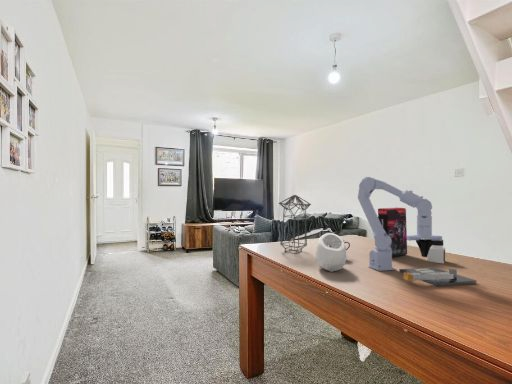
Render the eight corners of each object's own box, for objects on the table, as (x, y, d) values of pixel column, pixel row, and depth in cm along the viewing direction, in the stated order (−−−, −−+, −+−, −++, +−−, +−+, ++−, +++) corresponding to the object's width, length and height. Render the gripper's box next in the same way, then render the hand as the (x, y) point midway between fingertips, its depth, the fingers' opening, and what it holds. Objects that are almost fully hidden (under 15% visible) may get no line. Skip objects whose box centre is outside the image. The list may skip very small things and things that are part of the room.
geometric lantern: (289, 248, 184) (290, 194, 184) (311, 252, 174) (312, 195, 174) (275, 252, 172) (276, 194, 172) (297, 256, 162) (299, 195, 162)
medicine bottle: (444, 263, 144) (444, 240, 144) (427, 261, 148) (427, 238, 148) (445, 261, 150) (445, 238, 150) (429, 259, 154) (429, 237, 154)
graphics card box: (388, 258, 156) (388, 208, 156) (377, 256, 162) (377, 208, 162) (407, 255, 164) (407, 207, 164) (396, 253, 170) (396, 207, 170)
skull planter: (342, 258, 148) (344, 228, 139) (347, 287, 130) (349, 254, 122) (315, 257, 150) (315, 227, 141) (316, 286, 133) (316, 253, 124)
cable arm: (453, 278, 114) (453, 268, 114) (458, 280, 111) (458, 270, 111) (403, 279, 113) (403, 269, 113) (407, 282, 110) (407, 271, 110)
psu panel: (438, 286, 109) (438, 282, 109) (399, 271, 129) (399, 268, 129) (476, 283, 112) (476, 279, 112) (432, 269, 133) (432, 266, 133)
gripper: (435, 225, 131) (435, 254, 130) (403, 225, 131) (403, 254, 131) (445, 226, 123) (445, 258, 123) (411, 226, 124) (411, 258, 124)
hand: (424, 256), depth 127 cm, fingers closed
